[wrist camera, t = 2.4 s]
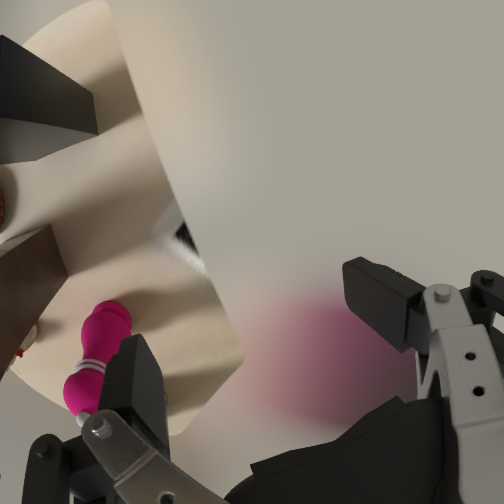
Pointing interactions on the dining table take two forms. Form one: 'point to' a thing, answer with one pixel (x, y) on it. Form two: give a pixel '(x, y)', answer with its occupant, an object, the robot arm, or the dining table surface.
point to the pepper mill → (95, 357)
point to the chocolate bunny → (26, 343)
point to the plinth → (26, 286)
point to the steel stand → (39, 107)
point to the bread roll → (1, 208)
